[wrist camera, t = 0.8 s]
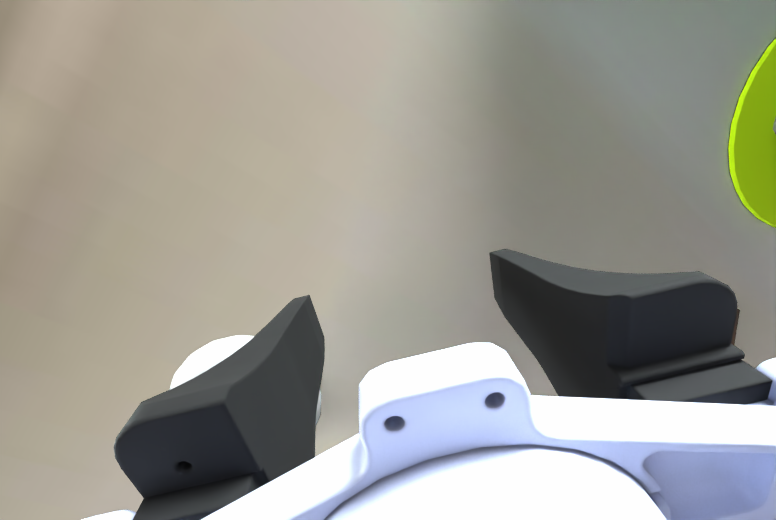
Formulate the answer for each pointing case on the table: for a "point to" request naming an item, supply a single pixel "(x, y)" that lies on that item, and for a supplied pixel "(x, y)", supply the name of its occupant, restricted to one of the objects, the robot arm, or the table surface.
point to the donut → (215, 361)
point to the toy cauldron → (756, 140)
